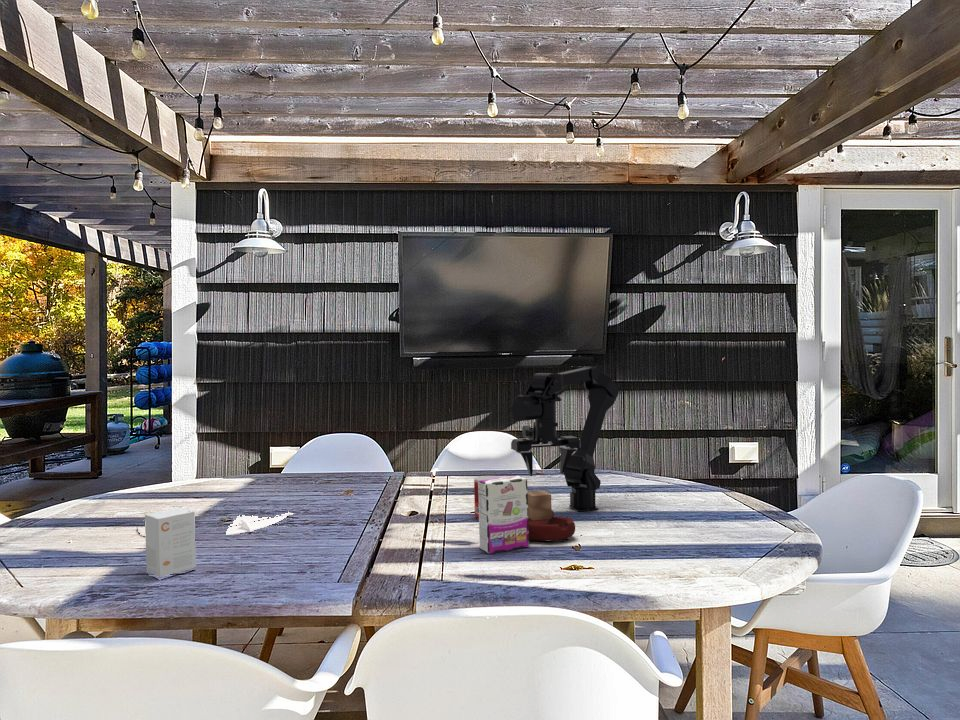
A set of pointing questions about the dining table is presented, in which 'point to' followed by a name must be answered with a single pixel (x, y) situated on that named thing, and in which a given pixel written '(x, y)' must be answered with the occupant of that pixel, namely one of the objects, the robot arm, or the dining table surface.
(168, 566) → the small box
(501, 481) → the candy bar box
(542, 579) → the dining table surface
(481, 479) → the canned food
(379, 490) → the dining table surface
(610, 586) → the dining table surface
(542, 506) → the walnut block
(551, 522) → the ashtray
